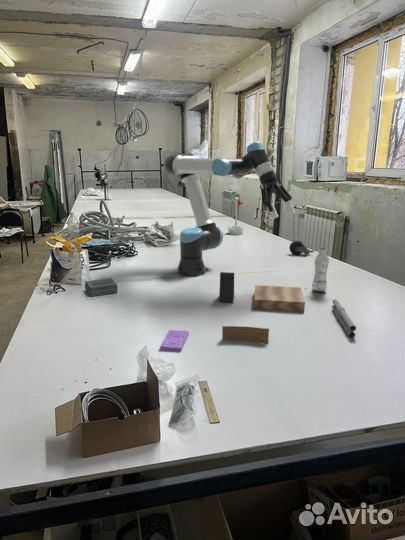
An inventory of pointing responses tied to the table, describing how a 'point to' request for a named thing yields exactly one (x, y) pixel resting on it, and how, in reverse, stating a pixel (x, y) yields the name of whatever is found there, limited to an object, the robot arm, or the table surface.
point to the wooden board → (279, 298)
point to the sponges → (174, 340)
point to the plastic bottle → (320, 271)
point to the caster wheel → (299, 248)
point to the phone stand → (226, 287)
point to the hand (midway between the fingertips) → (284, 216)
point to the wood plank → (245, 334)
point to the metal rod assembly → (344, 318)
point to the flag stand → (234, 229)
